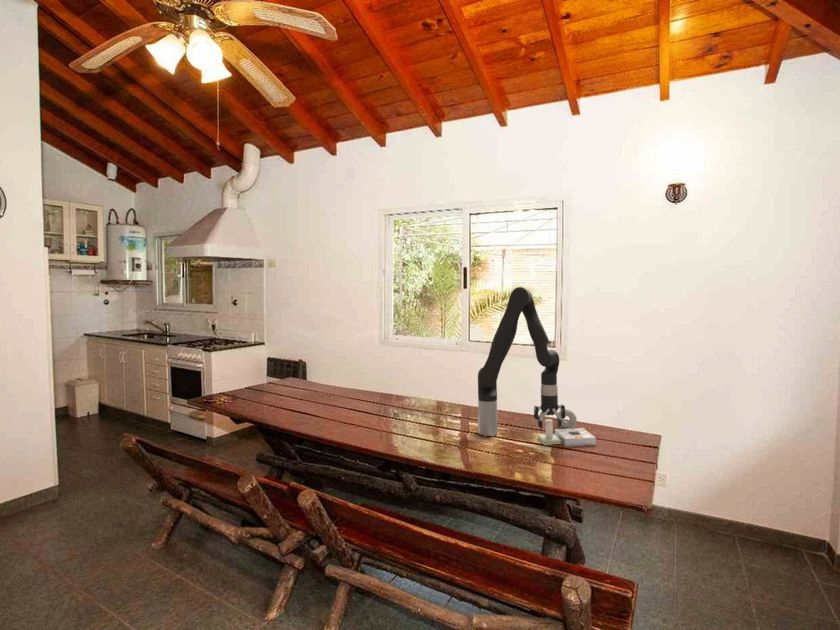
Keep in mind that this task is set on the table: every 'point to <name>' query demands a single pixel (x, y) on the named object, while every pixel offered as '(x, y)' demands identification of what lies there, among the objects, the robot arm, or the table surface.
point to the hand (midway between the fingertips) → (549, 427)
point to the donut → (572, 419)
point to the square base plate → (549, 441)
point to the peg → (549, 428)
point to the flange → (575, 437)
